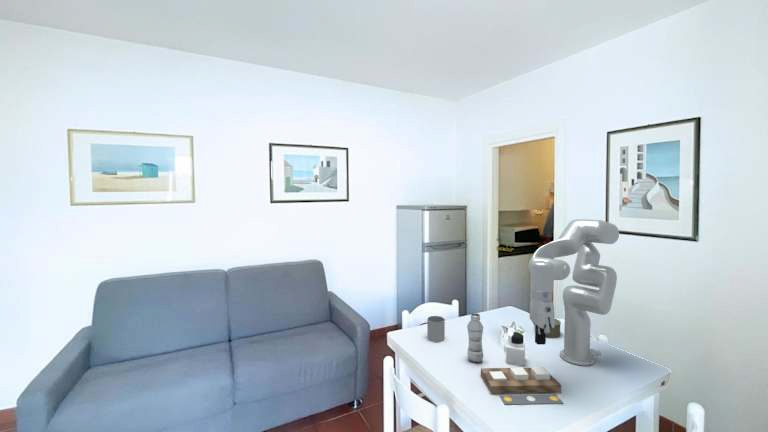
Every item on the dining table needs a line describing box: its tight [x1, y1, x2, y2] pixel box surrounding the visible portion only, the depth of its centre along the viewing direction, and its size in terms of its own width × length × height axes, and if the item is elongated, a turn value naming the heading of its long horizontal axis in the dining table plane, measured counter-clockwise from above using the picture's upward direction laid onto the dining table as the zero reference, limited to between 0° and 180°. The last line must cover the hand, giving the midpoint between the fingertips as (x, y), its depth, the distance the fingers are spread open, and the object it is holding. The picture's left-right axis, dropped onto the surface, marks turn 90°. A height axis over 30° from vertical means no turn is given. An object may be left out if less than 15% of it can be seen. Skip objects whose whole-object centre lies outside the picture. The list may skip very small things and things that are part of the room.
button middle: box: [509, 367, 528, 380], centre depth 119 cm, size 5×5×3 cm
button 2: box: [530, 366, 551, 380], centre depth 120 cm, size 5×5×3 cm
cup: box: [426, 315, 446, 343], centre depth 159 cm, size 8×8×10 cm
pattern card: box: [498, 393, 564, 406], centre depth 110 cm, size 20×5×1 cm, turn 91°
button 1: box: [489, 371, 507, 381], centre depth 119 cm, size 5×5×3 cm
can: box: [543, 318, 562, 339], centre depth 164 cm, size 12×12×7 cm
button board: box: [480, 367, 562, 395], centre depth 120 cm, size 25×12×3 cm, turn 91°
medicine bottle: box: [505, 331, 526, 367], centre depth 136 cm, size 7×7×12 cm
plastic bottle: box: [466, 312, 484, 363], centre depth 137 cm, size 6×7×20 cm
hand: (540, 343), depth 119 cm, fingers closed
